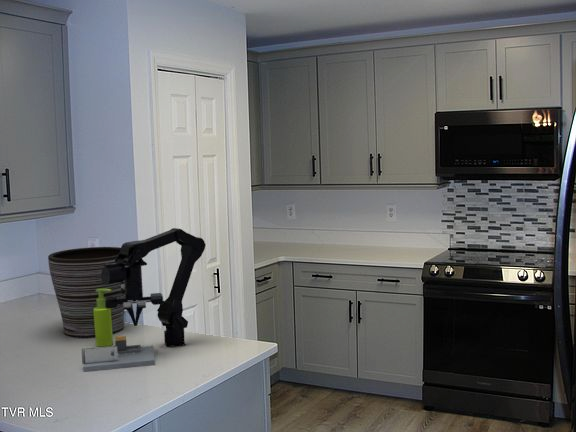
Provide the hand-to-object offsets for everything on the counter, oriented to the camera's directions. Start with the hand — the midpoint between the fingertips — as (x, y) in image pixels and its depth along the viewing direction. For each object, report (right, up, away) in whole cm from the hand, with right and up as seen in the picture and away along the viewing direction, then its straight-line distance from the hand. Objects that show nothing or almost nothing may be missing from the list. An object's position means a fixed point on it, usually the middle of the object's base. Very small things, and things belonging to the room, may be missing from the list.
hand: (135, 325), depth 225 cm
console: (-4, -11, -5) cm, 12 cm away
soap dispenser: (-14, -9, +13) cm, 21 cm away
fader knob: (-5, -8, 0) cm, 10 cm away
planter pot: (-23, -7, +32) cm, 40 cm away
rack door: (-8, -10, -11) cm, 17 cm away
